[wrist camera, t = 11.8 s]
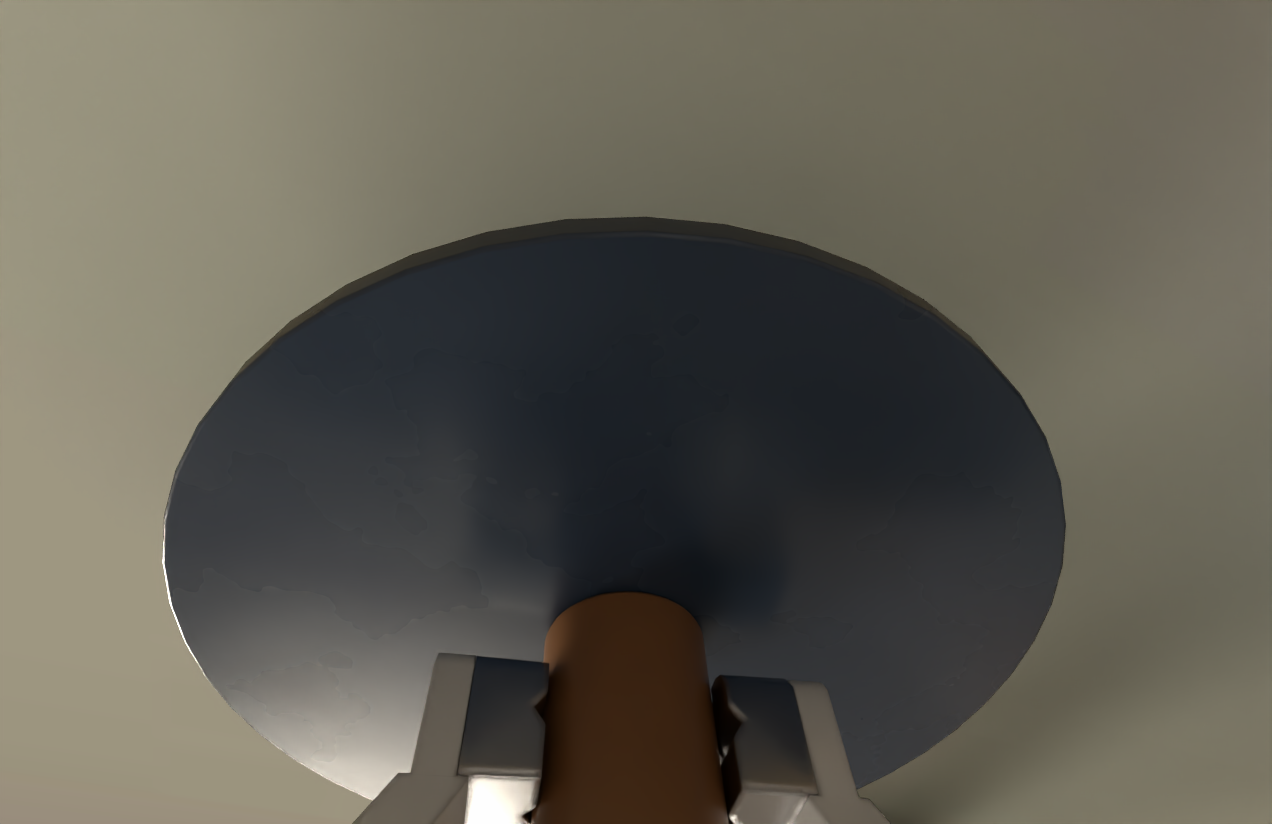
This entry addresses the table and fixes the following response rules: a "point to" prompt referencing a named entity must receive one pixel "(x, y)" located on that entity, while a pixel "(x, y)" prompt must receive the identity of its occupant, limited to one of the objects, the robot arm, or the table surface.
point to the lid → (614, 508)
